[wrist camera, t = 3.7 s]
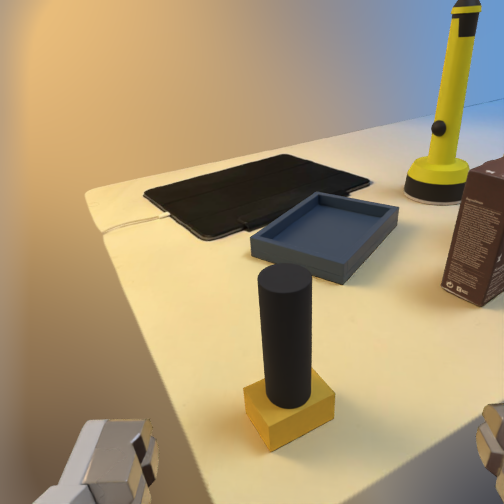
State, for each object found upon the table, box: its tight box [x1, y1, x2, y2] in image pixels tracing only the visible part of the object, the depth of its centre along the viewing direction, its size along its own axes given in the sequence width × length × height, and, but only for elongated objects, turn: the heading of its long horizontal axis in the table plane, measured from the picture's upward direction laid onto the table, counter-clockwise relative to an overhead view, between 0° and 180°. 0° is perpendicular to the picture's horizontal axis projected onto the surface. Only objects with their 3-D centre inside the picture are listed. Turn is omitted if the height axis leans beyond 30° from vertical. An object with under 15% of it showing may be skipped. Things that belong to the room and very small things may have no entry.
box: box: [441, 157, 504, 306], centre depth 36 cm, size 6×4×12 cm
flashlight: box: [403, 0, 481, 205], centre depth 53 cm, size 25×9×9 cm
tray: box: [250, 192, 399, 285], centre depth 49 cm, size 16×12×2 cm
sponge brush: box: [243, 263, 335, 452], centre depth 25 cm, size 5×4×12 cm
